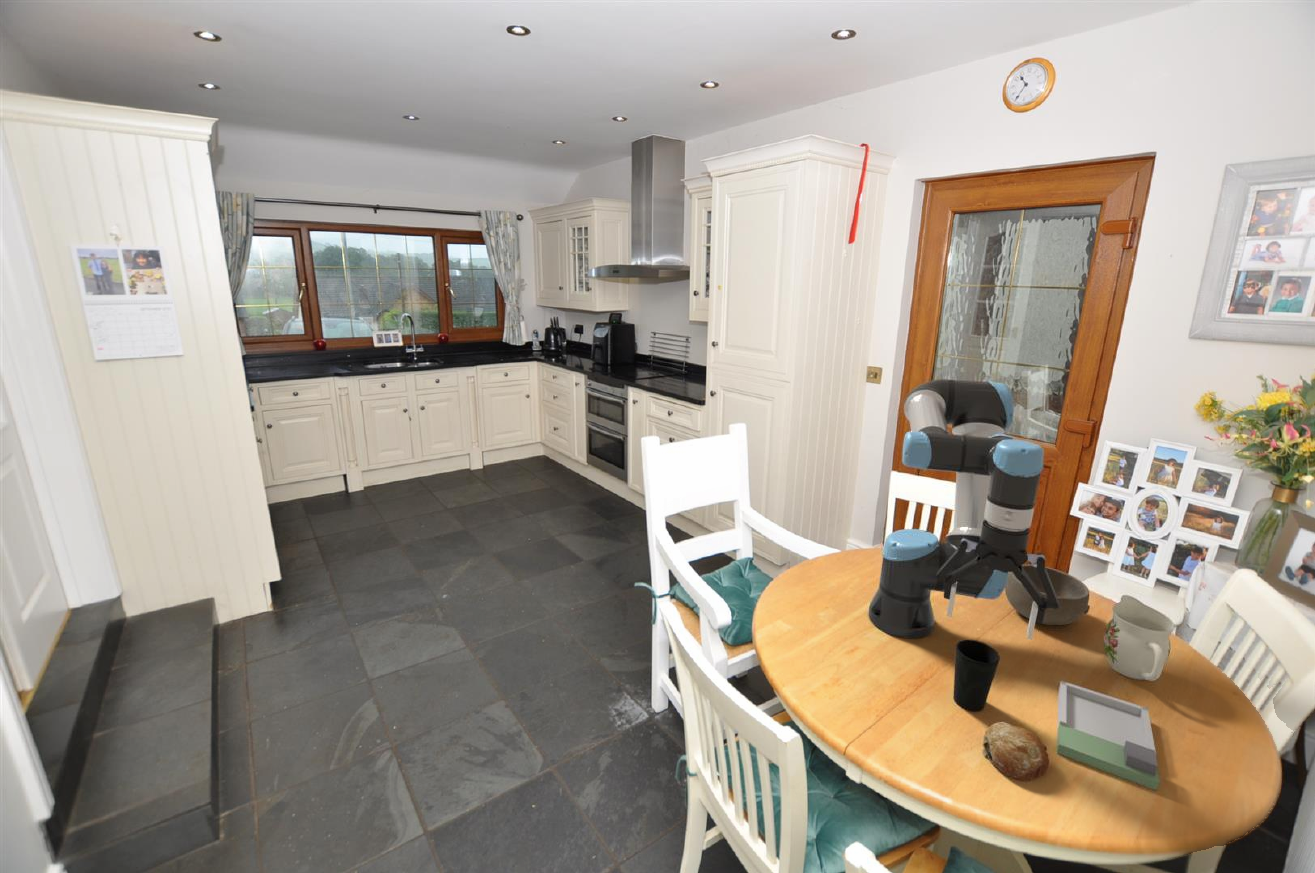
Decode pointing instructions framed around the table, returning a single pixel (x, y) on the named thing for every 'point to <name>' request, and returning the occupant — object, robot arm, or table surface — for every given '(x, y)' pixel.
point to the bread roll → (1015, 751)
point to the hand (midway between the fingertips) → (988, 624)
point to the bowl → (1066, 588)
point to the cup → (974, 673)
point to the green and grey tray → (1106, 734)
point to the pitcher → (1137, 639)
